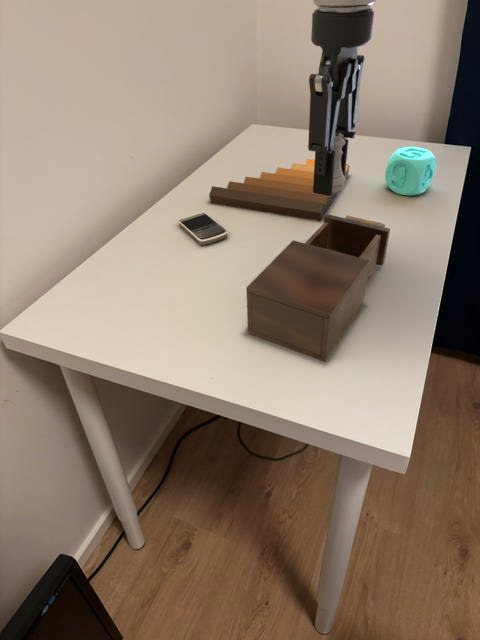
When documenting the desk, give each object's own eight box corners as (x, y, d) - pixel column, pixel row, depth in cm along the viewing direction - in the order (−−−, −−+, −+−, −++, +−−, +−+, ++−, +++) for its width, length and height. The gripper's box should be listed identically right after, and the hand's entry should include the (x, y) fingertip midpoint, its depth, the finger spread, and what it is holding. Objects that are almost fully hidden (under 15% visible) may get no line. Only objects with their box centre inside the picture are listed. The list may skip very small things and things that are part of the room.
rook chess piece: (312, 192, 73) (315, 139, 68) (319, 181, 77) (322, 129, 72) (341, 196, 72) (347, 141, 67) (347, 184, 75) (353, 131, 70)
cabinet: (291, 283, 83) (292, 239, 77) (362, 305, 77) (369, 260, 72) (247, 333, 73) (246, 287, 68) (325, 362, 68) (330, 314, 62)
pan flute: (209, 204, 107) (319, 222, 99) (208, 189, 105) (321, 207, 97) (252, 162, 124) (348, 174, 116) (251, 149, 122) (350, 161, 114)
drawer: (334, 235, 93) (337, 202, 89) (393, 249, 88) (399, 215, 84) (291, 284, 81) (292, 249, 77) (356, 304, 76) (361, 268, 72)
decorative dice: (431, 186, 110) (439, 151, 104) (415, 199, 105) (423, 163, 100) (399, 177, 114) (405, 143, 109) (382, 189, 109) (387, 154, 104)
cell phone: (202, 248, 93) (201, 241, 92) (176, 225, 100) (176, 219, 99) (229, 238, 95) (229, 232, 94) (203, 216, 102) (202, 210, 101)
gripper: (341, -3, 67) (328, 163, 82) (283, 16, 55) (281, 205, 70) (395, -2, 64) (371, 170, 78) (345, 19, 52) (329, 215, 67)
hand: (328, 186), depth 74 cm, fingers closed on rook chess piece, 4 cm apart
